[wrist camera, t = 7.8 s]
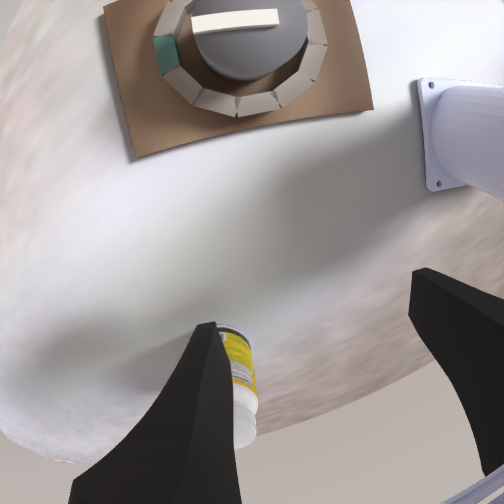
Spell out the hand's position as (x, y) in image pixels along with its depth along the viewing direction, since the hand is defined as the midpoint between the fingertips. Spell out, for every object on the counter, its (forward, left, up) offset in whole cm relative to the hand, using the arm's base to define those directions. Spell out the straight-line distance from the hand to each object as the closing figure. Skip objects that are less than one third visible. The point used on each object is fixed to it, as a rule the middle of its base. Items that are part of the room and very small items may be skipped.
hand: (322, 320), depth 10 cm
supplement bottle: (+6, +9, -10) cm, 15 cm away
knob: (0, -11, -9) cm, 14 cm away
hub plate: (0, -11, -10) cm, 15 cm away
